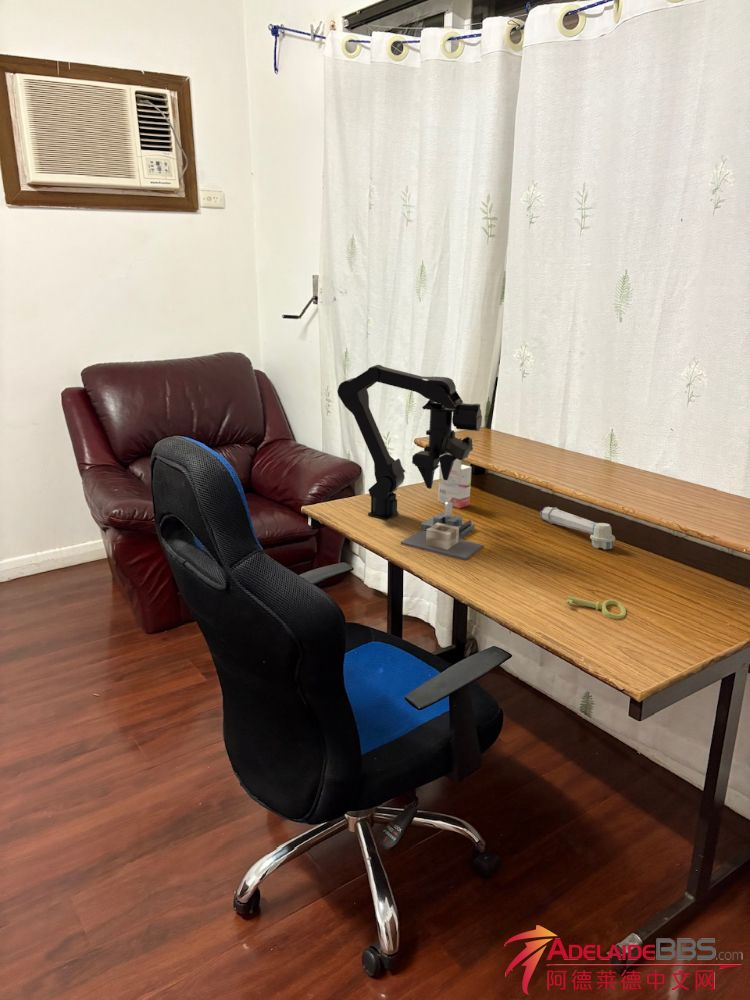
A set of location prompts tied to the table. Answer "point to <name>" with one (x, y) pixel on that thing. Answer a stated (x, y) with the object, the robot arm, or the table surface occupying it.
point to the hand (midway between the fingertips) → (437, 484)
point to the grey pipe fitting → (581, 526)
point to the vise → (449, 521)
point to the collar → (442, 536)
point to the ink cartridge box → (456, 485)
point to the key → (599, 606)
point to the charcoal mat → (457, 551)
